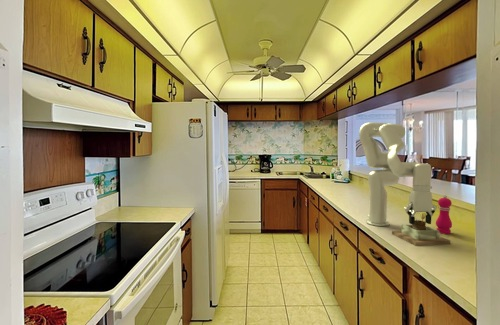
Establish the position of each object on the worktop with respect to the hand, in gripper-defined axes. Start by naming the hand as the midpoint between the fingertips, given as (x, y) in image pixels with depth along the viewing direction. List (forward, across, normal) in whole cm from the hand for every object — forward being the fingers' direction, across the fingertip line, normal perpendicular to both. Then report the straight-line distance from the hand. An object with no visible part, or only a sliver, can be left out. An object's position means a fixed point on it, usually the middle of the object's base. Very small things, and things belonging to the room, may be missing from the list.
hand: (420, 223), depth 148 cm
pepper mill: (+8, -20, -8) cm, 23 cm away
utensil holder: (+6, 0, 0) cm, 6 cm away
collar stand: (+8, 0, 0) cm, 8 cm away
